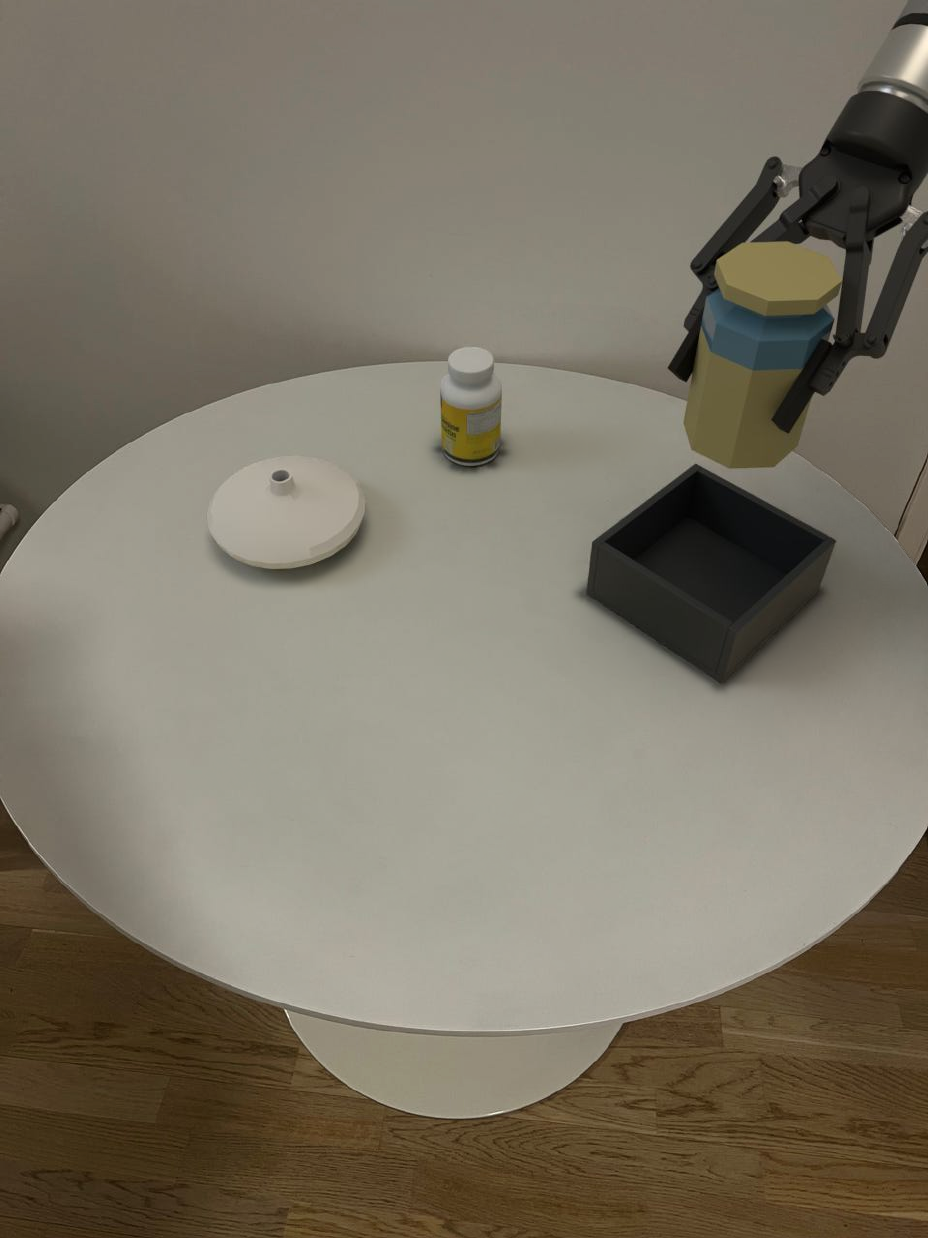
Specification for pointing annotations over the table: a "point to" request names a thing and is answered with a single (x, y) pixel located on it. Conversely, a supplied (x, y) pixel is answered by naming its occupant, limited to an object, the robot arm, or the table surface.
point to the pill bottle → (470, 407)
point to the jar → (757, 350)
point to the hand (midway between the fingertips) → (727, 400)
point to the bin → (708, 569)
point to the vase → (286, 512)
